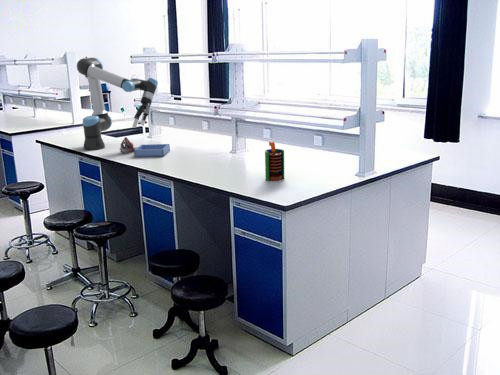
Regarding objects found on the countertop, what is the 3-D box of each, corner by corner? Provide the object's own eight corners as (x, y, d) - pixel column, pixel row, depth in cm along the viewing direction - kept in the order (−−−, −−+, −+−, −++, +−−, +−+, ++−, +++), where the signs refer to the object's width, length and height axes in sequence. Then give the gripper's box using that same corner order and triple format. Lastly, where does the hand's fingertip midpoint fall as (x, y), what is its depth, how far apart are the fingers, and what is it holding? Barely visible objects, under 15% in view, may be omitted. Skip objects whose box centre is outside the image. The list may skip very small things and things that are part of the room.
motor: (272, 182, 268) (271, 145, 263) (261, 179, 275) (260, 142, 270) (286, 178, 274) (286, 142, 268) (276, 175, 281) (275, 140, 275)
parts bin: (134, 157, 342) (133, 149, 340) (142, 151, 359) (141, 144, 357) (163, 156, 340) (163, 149, 338) (170, 151, 357) (169, 144, 356)
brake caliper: (114, 150, 354) (120, 135, 357) (123, 157, 363) (129, 142, 366) (126, 151, 349) (132, 136, 352) (136, 158, 358) (141, 143, 361)
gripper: (159, 98, 357) (150, 125, 352) (144, 104, 377) (135, 130, 372) (149, 93, 353) (140, 121, 348) (135, 99, 373) (126, 126, 368)
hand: (137, 126), depth 360 cm, fingers open, 13 cm apart
